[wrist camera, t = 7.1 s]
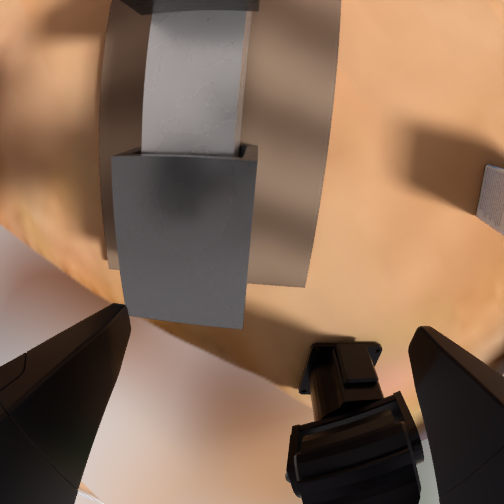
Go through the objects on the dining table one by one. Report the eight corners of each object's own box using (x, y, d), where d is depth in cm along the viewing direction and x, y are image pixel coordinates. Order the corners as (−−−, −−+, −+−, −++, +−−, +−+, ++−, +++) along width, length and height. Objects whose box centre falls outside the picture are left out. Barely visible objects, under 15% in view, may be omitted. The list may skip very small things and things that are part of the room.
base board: (303, 280, 21) (304, 287, 20) (114, 262, 21) (109, 268, 20) (338, -30, 12) (342, -35, 11) (125, -31, 12) (119, -36, 11)
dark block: (245, 182, 16) (228, 272, 7) (158, 177, 16) (58, 253, 7) (267, -43, 10) (271, -155, 1) (179, -42, 10) (115, -136, 1)
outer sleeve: (247, 270, 20) (242, 329, 15) (158, 261, 20) (126, 315, 14) (258, 146, 17) (257, 161, 11) (156, 141, 16) (111, 156, 11)
